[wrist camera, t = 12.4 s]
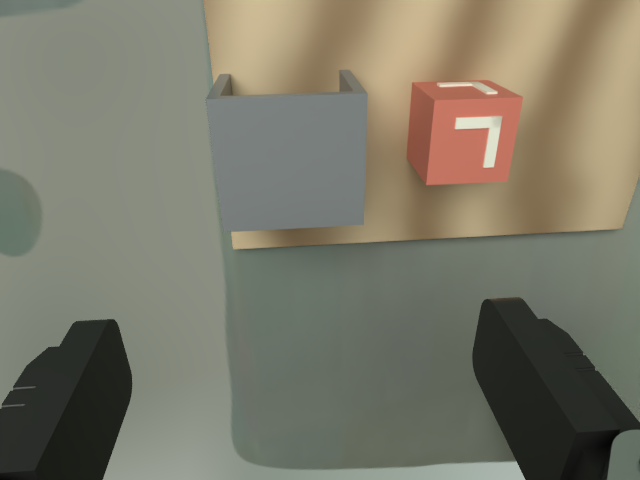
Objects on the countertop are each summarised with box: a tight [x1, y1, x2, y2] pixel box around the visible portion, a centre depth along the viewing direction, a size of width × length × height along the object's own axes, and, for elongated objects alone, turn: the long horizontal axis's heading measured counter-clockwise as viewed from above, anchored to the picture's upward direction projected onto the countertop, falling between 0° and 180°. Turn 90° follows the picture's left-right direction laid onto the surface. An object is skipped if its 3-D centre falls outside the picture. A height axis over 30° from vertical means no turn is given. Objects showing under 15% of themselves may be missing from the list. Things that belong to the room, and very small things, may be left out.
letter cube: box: [406, 80, 523, 185], centre depth 24 cm, size 4×4×4 cm
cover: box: [206, 70, 368, 232], centre depth 23 cm, size 6×6×6 cm
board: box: [204, 0, 640, 249], centre depth 26 cm, size 24×14×1 cm, turn 91°
